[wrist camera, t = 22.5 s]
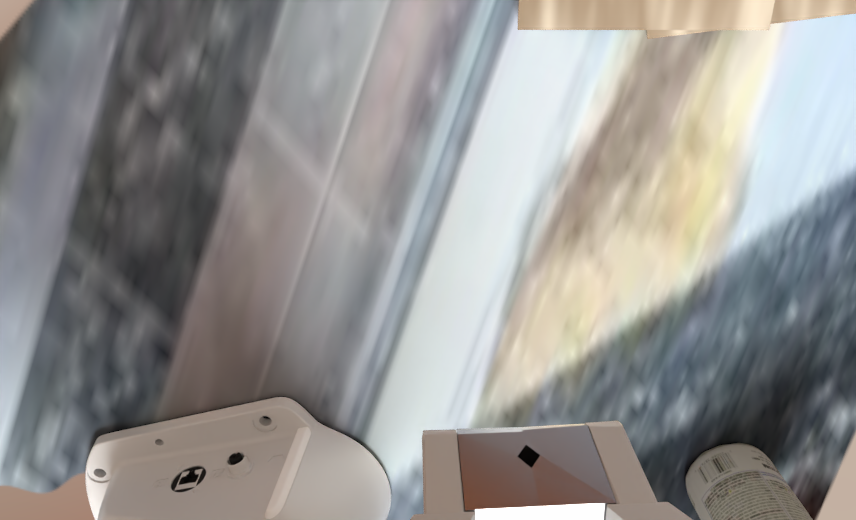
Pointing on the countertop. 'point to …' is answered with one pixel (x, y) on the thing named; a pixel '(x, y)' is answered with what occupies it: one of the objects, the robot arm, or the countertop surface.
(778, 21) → the domino
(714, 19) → the domino
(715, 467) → the spray can
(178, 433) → the robot arm
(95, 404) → the countertop surface
